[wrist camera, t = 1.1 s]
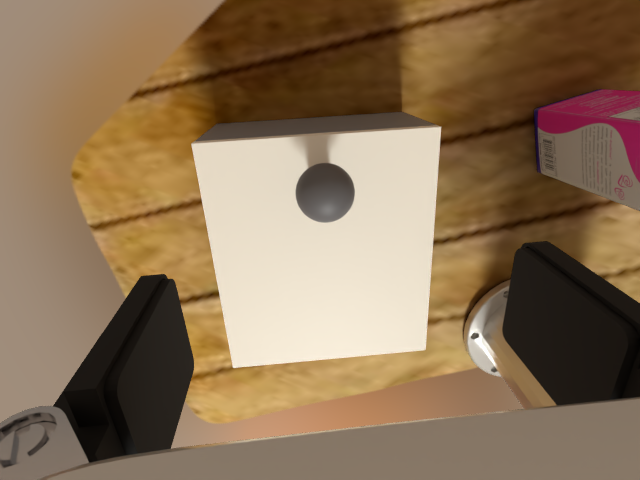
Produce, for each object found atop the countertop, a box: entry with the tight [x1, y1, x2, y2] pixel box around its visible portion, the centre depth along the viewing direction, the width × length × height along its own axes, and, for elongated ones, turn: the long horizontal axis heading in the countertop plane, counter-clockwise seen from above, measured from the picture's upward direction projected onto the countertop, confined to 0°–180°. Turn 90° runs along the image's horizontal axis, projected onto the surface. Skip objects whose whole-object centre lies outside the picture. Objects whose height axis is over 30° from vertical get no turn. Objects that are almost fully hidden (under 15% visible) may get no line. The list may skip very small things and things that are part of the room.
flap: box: [192, 125, 441, 368], centre depth 25 cm, size 15×17×6 cm
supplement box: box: [534, 89, 640, 211], centre depth 28 cm, size 6×6×12 cm
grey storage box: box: [196, 112, 435, 141], centre depth 31 cm, size 15×17×8 cm
